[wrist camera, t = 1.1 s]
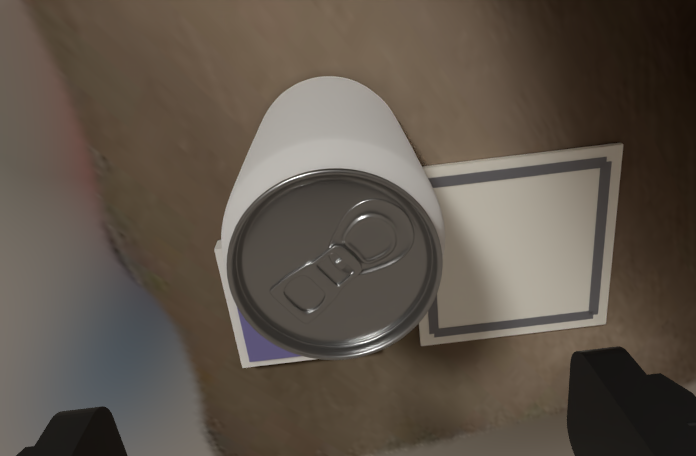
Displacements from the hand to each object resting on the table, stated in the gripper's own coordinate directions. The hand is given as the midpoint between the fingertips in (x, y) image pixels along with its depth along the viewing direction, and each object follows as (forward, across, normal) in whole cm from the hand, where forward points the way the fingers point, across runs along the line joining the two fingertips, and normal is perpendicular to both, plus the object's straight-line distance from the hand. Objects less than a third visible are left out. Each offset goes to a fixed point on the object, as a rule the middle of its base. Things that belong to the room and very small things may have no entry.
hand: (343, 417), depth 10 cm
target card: (+17, -8, +6) cm, 20 cm away
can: (+17, 0, 0) cm, 17 cm away
